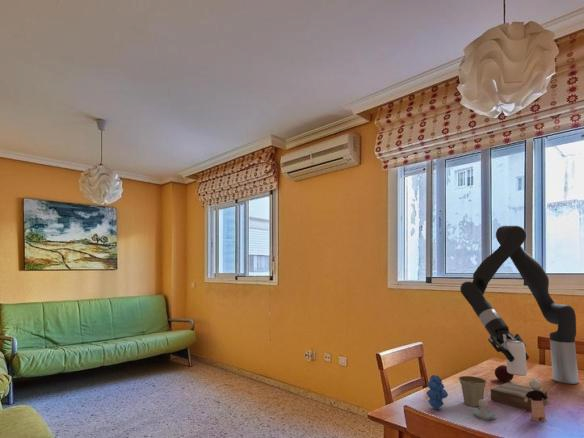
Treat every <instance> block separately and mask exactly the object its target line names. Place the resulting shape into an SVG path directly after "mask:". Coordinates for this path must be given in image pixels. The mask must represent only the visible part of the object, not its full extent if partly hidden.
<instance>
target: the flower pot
mask: <svg viewBox="0 0 584 438" xmlns="http://www.w3.org/2000/svg"><path fill="white" fill-rule="evenodd" d="M458 380H459V383H460V385H461V390H462V397H463V402H464V404H466V406H471V407H479V405H478V401H479V400H480V399H483V400H484V395H485V387H486V384H487V382H488V381H487V380H486V379H484V378H482V377H478V376H473V375H462V376H459V377H458Z"/></svg>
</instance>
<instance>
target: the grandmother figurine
mask: <svg viewBox="0 0 584 438" xmlns="http://www.w3.org/2000/svg"><path fill="white" fill-rule="evenodd" d="M528 385H529V387H530V388H532V389H533V390H534V391H529V392H528V393H527V394H526V395H525V399H524V402H527V401H528V399H530V398H531V406H532V411H531V413H532V416H531V420H533V421H536V422H539V421H542V422H547V418H546V411H545V405H543V401H542V398H543V399H544V400H545V401H546V403H547V404H546V405H551V402H550V401H549V398H548V395H547V396H546V395H545V394H544V393H543V392H542V391H543V390H542V391H538V390H541V388H542V384H541V382H540V380H539V379H537V378H536V379H535V378H533V379H531V380H530V381H529V384H528Z"/></svg>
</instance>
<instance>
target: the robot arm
mask: <svg viewBox="0 0 584 438" xmlns="http://www.w3.org/2000/svg"><path fill="white" fill-rule="evenodd" d="M495 238H496V241H497V243H498V244H499V247H498V248H497V249H496V250H495V251H493V252H492V253H491V254H489V256H487V257H486V258H485V259H484V260H483V261H482V262H481V263H480V264H479V265H478V267H477V268H476V269H475V271H474V272H473V275H472V279H473V280H472V281H465V282H463V283H462V284H461V285H460V288H459V289H460V290H459V291H460V293H461V295H462V296H463V297H464V299H465V300H466V301H467V303H468V304H469V305H470V306H471V307H472V310H473V311H474V313H475V314H476V315H477V317H478V318H479V320H480V323H481V324H482V326H483V327H484V328H485V330H486V331H487V333H488V334H489V335H490V336H489V338H488V339H487V340H488V342H489V343H490V344H491V346H492V347H493V348H494V349H495V351H496V352H497V353H499V352H501V353H502V354H503V355H504V356H505V359H506V358H507V359H508V360H509V361H510V362H512V361H513V360H514V357H513V355H512V354H511V353H510V352H509V350H508V349H507V346H506V344H507V340H509V339H513V340H521V341H523V343H524V345H525V348H527V345H526V343H525V342H524V340H523V339H522V337H521V336H520V334H519V333H516V334H512V333H511V332H510V329H509V326H508V324H507V323H506V322H505V321H504V319H503V318H502V317H501V315H500V314H499V312H497V311H496V309H494V308H493V305H491V302H489V301H488V300H487V299H486V298H485V296H484V295H485V293H486V290H487V287H488V284H489V282H491V280H492V279H493V277H494V276H495V275H496V273H497V272H498V271H499V269H500V268H501V267H502V266H503V264H504V263H505V262H506V261H507V260H508V259H509V258H510V260H511V261H512V263H513V265H514V267H516V270H518V273H519V275H520V277H521V278H522V280H523V281H524V283H525V284H526V286H527V287H528V289H529V291H530V292H531V294H532V296H533V297H534V299H535V301H536V303H537V305H538V308H539V310H540V312H541V314H542V316H543V317H544V319H545V320H546V322H548V323H550V324H553V325H557V330H556V331H552V332H550V333H549V345H550V356H551V358H550V359H551V371H552V372H551V373H552V374H551V375H552V379H553V381H556V382H559V383H562V384H572V385H573V384H574V385H576V384H579V374H578V359H577V350H576V337H577V316H576V312H575V309H574V308H573V307H572V306H571V305H569V304H568V305H567V304H563V303H562V304H561V303H556V302H555V301H554V300H553V299H552V297H551V294H550V292H549V287H550V283H549V281H550V280H549V279H550V278H549V277H548V274H547V273H546V271H545V270H544V268H543V266H542V265H541V263H540V262H538V261H537V260H536V259H535V258H534V257H533V256H531V254H529V253H528V252H527V251H525V249H524V248H523V247H522V245H523V244H524V243H525V241H526V239H527V232H526V230H525V228H523V227H522V226H520V225H502V226H499V227H498V228H497V230H496V232H495ZM529 359H530V357H529V355H528V353H527V352H526V361H528V360H529Z"/></svg>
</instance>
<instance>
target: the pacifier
mask: <svg viewBox="0 0 584 438" xmlns="http://www.w3.org/2000/svg"><path fill="white" fill-rule="evenodd" d="M478 405H479V406H478V407H479V409H478V408H474V407H472V408H471V412H472V414H473V415H475V416H476V417H477V418H479V419H481V420H485V421H490V420H494V419H496V418H497V417H496V413H494V412H489V411H487V410H488V407H489V406H488V405H489V404H488V402H487V401H486V400H485V399H484V398H483V399H480V400H479V401H478Z"/></svg>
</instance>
